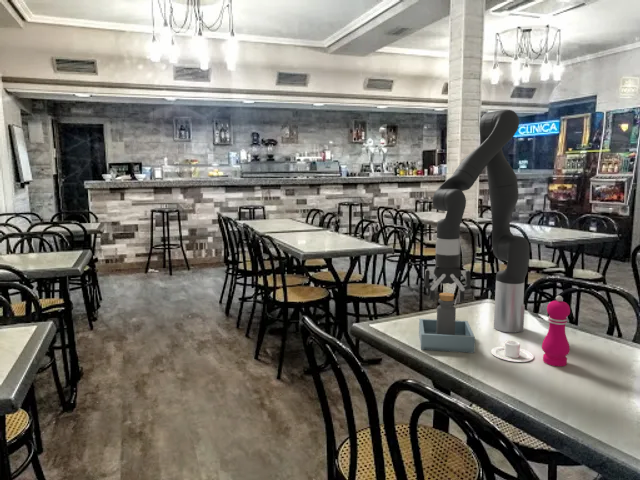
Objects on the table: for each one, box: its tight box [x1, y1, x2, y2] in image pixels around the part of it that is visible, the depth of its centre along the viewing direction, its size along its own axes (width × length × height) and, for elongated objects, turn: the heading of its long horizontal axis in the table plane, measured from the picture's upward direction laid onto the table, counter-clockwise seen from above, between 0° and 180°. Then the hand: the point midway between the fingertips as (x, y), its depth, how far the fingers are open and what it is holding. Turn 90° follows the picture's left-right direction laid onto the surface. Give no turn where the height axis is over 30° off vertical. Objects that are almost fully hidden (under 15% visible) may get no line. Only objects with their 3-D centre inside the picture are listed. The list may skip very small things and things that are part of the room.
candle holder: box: [490, 340, 535, 363], centre depth 144 cm, size 12×12×4 cm
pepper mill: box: [541, 295, 571, 367], centre depth 137 cm, size 7×7×20 cm
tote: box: [418, 318, 476, 354], centre depth 155 cm, size 16×16×5 cm
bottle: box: [436, 292, 457, 335], centre depth 154 cm, size 6×6×15 cm
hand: (446, 301), depth 153 cm, fingers open, 8 cm apart
